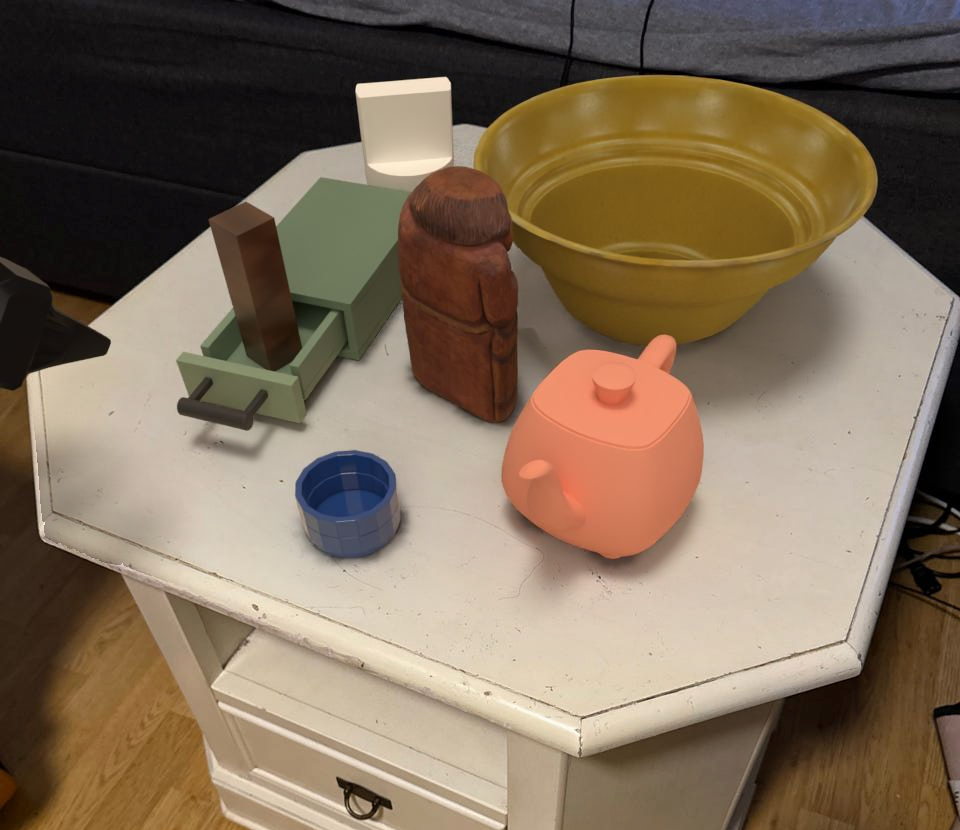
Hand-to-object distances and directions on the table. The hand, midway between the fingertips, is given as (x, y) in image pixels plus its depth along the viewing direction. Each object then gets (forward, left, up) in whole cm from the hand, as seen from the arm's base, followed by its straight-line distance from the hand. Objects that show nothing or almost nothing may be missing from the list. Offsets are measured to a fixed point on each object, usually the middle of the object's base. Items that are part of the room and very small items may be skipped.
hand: (70, 318), depth 57 cm
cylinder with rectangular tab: (+24, +36, -14) cm, 45 cm away
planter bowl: (+45, +17, -14) cm, 50 cm away
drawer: (+11, +11, -13) cm, 20 cm away
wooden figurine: (+27, +7, -14) cm, 31 cm away
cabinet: (+16, +23, -14) cm, 31 cm away
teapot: (+35, -9, -14) cm, 39 cm away
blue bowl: (+17, -8, -14) cm, 23 cm away
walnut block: (+11, +11, -12) cm, 19 cm away
